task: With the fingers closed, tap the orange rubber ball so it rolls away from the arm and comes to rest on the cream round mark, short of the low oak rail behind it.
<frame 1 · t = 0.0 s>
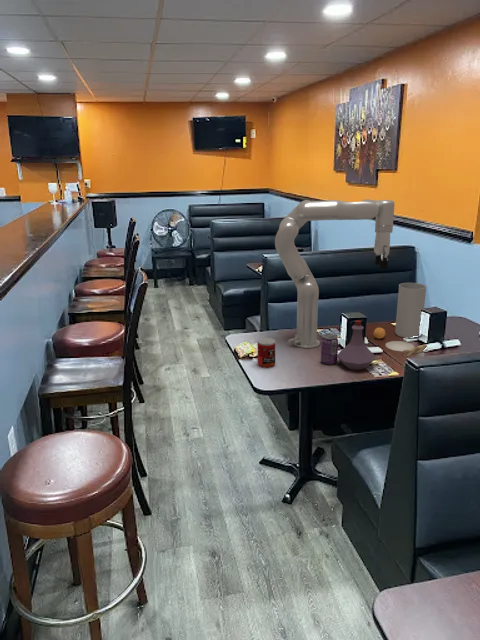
hand: (381, 266, 226), 37 cm above the table, tool pointing down, fingers open, 9 cm apart
canned food: (266, 365, 216), on the table
stopper rail: (414, 353, 225), on the table
mark: (399, 346, 234), on the table
flask: (355, 366, 213), on the table
cylinder vase: (408, 334, 249), on the table
ball: (379, 333, 243), on the table
beverage can: (328, 362, 217), on the table
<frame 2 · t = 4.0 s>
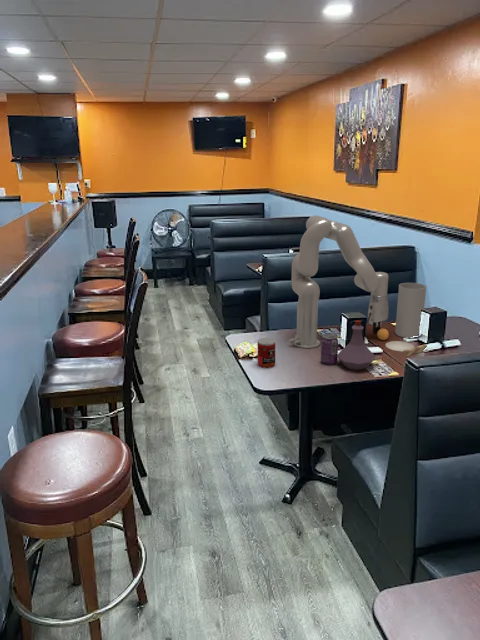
hand: (376, 333, 246), 2 cm above the table, tool pointing down, fingers closed
ball: (382, 334, 242), on the table
everything else where it was.
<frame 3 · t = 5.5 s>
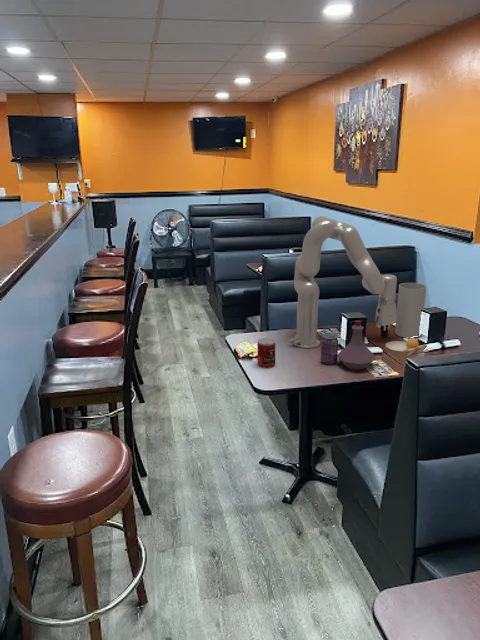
hand: (384, 337, 241), 2 cm above the table, tool pointing down, fingers closed
ball: (412, 344, 229), on the table
everything else where it was.
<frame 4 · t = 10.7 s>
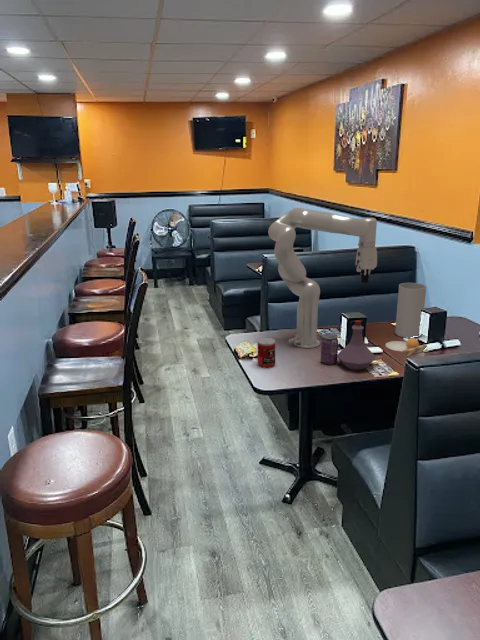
hand: (364, 282, 240), 27 cm above the table, tool pointing down, fingers closed
nothing on the table moved.
at the end: ball 6.0 cm from the mark (horizontally); ball at rest at the end (0.0 cm/s); ball moved 19.0 cm from its start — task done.
